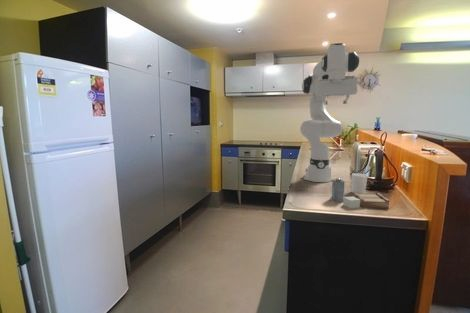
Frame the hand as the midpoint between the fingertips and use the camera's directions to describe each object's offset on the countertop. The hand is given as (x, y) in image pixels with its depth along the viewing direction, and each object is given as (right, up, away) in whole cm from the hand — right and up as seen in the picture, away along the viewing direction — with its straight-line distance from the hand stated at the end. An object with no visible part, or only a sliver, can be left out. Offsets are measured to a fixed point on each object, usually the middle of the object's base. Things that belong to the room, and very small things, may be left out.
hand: (335, 104), depth 136 cm
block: (+3, -50, -13) cm, 52 cm away
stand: (+13, -50, -9) cm, 52 cm away
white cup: (+16, -47, +10) cm, 51 cm away
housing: (0, -49, -4) cm, 49 cm away
